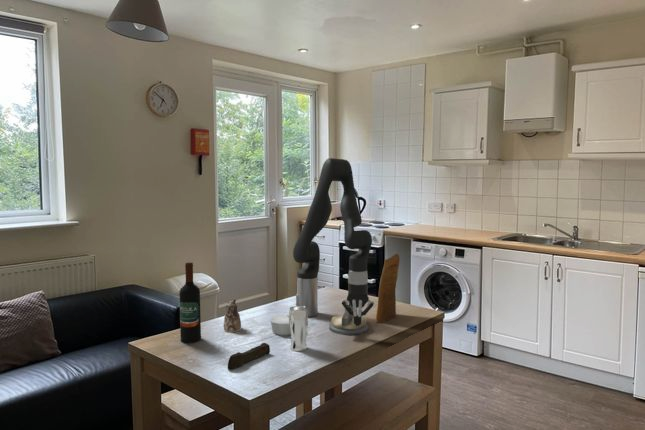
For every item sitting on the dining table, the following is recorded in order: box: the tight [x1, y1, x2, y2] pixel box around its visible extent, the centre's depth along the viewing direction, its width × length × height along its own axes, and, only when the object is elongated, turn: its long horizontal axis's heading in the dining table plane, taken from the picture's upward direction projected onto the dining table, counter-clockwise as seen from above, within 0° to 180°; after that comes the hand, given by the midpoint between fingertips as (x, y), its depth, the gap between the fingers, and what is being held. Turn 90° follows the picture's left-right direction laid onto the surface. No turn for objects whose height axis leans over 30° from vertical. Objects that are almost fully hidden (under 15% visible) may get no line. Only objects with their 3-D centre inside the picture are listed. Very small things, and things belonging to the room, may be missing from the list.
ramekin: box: [269, 314, 291, 336], centre depth 195 cm, size 11×11×5 cm
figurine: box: [223, 299, 242, 333], centre depth 198 cm, size 7×7×12 cm
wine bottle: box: [179, 261, 202, 344], centre depth 185 cm, size 8×8×30 cm
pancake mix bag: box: [375, 253, 400, 323], centre depth 212 cm, size 7×19×28 cm, turn 146°
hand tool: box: [227, 342, 271, 371], centre depth 165 cm, size 19×4×5 cm, turn 143°
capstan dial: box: [331, 302, 367, 330], centre depth 199 cm, size 14×25×6 cm, turn 169°
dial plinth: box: [328, 321, 369, 336], centre depth 200 cm, size 16×16×2 cm
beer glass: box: [288, 305, 309, 352], centre depth 176 cm, size 7×7×15 cm
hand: (357, 325), depth 188 cm, fingers closed
